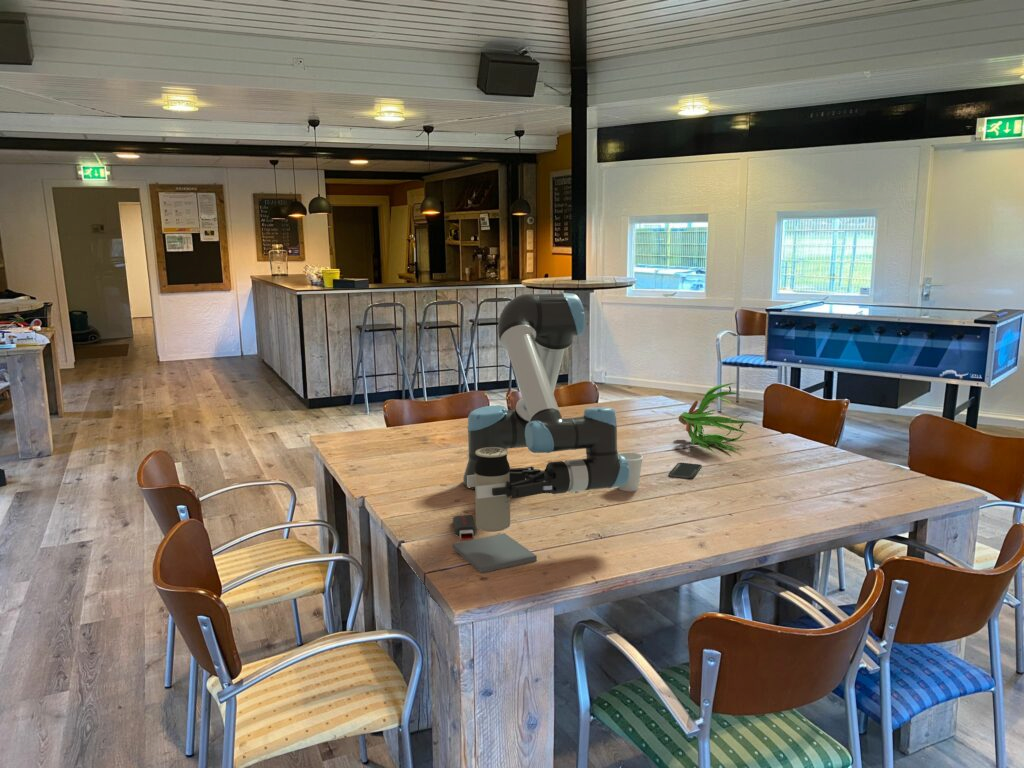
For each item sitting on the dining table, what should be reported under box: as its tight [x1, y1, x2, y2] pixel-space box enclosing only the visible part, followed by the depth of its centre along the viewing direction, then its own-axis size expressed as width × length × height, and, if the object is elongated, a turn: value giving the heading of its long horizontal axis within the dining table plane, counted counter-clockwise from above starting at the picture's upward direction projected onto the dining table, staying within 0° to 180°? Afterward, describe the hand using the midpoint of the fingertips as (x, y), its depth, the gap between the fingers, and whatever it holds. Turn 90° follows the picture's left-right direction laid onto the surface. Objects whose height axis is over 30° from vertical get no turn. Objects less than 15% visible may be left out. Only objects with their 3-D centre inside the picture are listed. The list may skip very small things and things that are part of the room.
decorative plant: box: [678, 382, 752, 454], centre depth 270 cm, size 26×25×30 cm
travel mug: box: [474, 447, 511, 533], centre depth 174 cm, size 8×8×18 cm
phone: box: [668, 462, 703, 480], centre depth 240 cm, size 8×1×15 cm
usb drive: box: [452, 514, 477, 540], centre depth 192 cm, size 5×12×3 cm, turn 8°
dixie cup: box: [617, 451, 644, 492], centre depth 223 cm, size 8×8×10 cm
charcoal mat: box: [452, 532, 538, 574], centre depth 176 cm, size 16×14×1 cm
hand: (472, 486), depth 172 cm, fingers closed on travel mug, 8 cm apart
